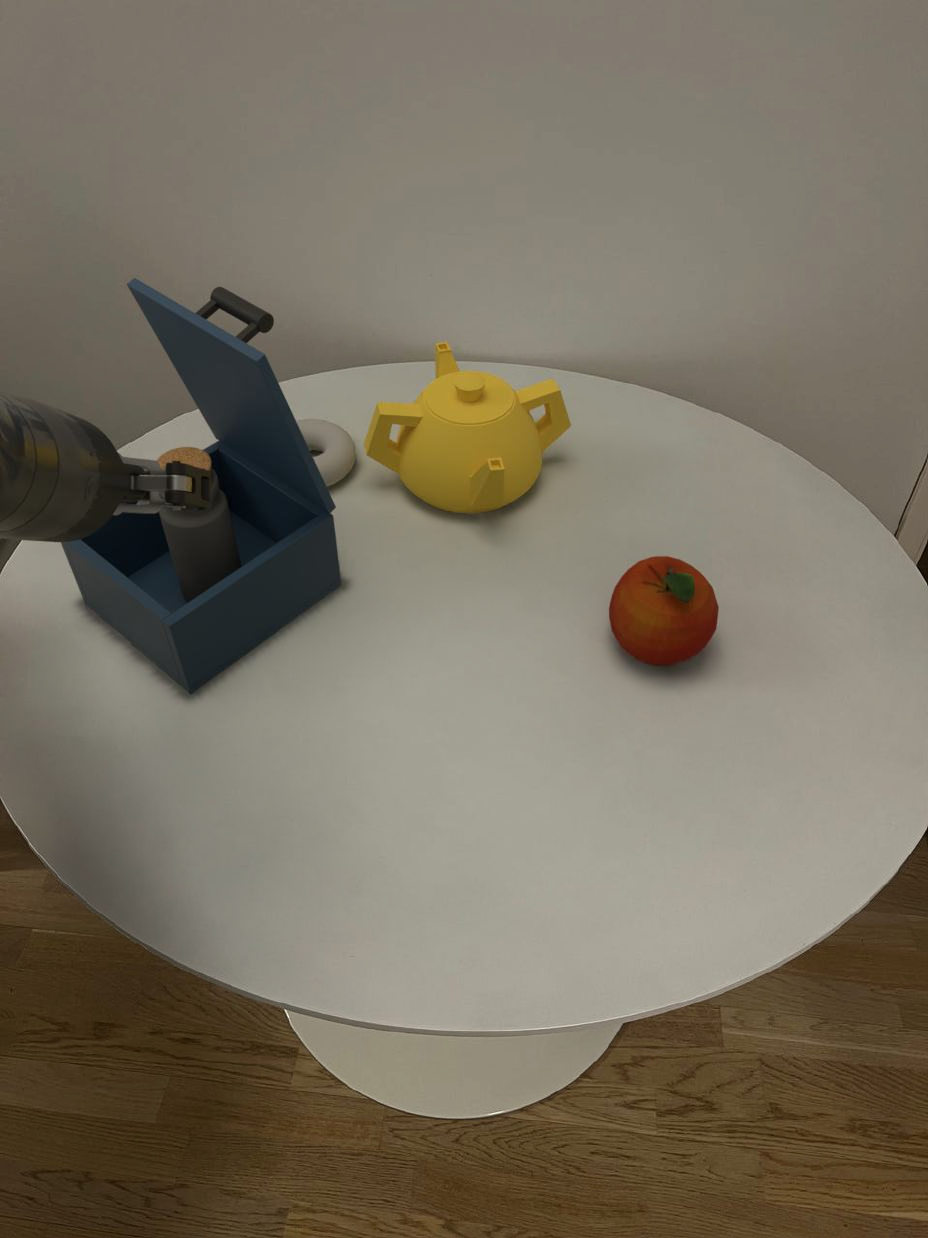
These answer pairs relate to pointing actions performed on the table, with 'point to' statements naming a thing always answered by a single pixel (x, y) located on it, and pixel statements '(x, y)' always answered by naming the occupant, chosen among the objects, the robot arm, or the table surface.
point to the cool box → (231, 609)
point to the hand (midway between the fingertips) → (128, 493)
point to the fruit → (663, 611)
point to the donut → (329, 448)
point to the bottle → (199, 532)
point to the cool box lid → (235, 385)
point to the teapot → (468, 437)
